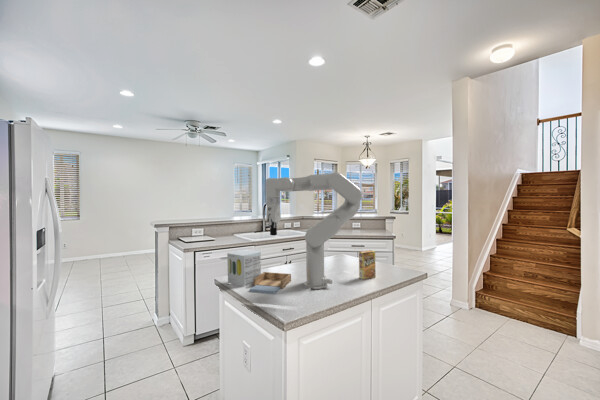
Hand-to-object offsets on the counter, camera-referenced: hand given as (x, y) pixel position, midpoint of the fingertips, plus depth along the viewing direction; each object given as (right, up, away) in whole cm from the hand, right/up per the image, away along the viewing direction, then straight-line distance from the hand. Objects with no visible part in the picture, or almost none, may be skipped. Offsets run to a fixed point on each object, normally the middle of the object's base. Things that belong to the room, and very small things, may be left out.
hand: (273, 235), depth 150 cm
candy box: (+53, -26, +11) cm, 61 cm away
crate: (0, -27, -1) cm, 27 cm away
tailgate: (-2, -26, -7) cm, 27 cm away
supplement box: (-16, -27, +3) cm, 32 cm away
